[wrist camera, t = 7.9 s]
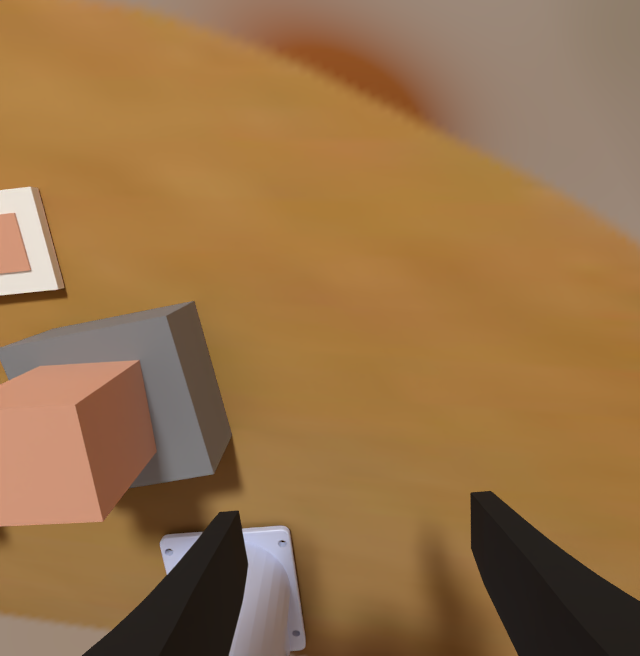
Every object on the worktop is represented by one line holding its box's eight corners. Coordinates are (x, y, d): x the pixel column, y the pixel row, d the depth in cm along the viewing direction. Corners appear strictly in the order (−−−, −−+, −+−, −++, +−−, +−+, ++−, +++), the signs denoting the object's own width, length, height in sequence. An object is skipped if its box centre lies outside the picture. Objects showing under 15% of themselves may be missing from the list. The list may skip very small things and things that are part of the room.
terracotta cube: (157, 451, 18) (103, 521, 14) (62, 456, 19) (-21, 527, 14) (139, 360, 17) (74, 404, 13) (39, 365, 17) (-59, 412, 13)
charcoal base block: (233, 432, 23) (213, 474, 19) (104, 454, 23) (59, 500, 19) (196, 299, 21) (165, 315, 17) (56, 327, 21) (-5, 349, 17)
